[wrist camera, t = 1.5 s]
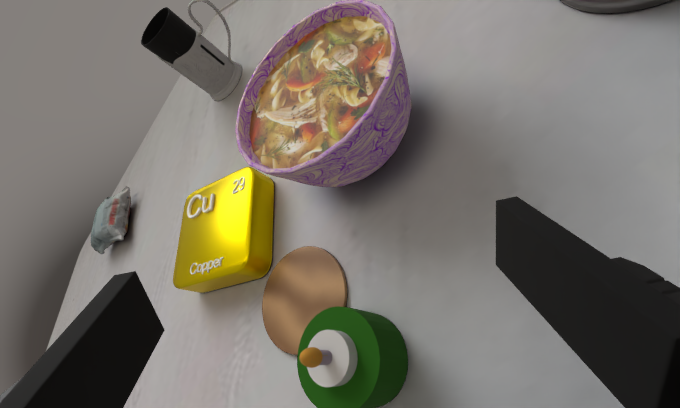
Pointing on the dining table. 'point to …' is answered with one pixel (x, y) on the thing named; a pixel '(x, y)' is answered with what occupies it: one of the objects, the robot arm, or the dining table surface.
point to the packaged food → (111, 221)
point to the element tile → (226, 233)
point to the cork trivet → (301, 294)
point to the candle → (351, 359)
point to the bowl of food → (327, 98)
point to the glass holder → (192, 52)
